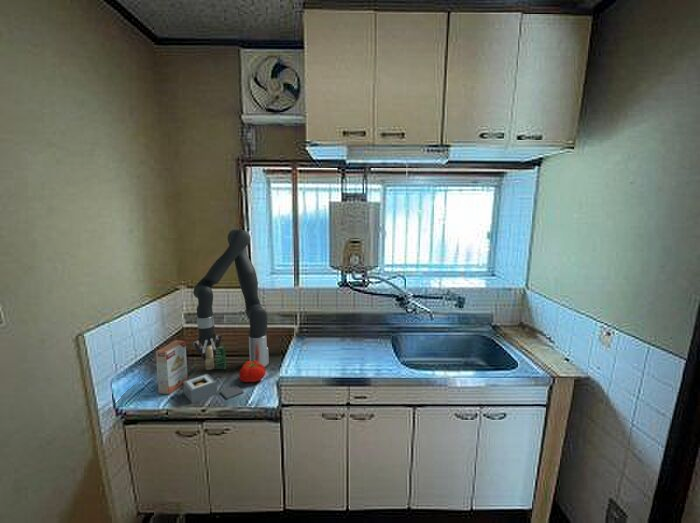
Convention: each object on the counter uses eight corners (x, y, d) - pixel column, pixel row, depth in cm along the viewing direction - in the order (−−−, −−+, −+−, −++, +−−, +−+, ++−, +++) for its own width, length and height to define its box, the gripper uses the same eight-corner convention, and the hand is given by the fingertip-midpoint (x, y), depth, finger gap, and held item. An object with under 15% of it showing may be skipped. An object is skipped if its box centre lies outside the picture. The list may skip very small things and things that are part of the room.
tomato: (258, 388, 159) (257, 371, 157) (234, 385, 161) (233, 368, 160) (270, 374, 172) (270, 358, 171) (248, 372, 175) (248, 356, 173)
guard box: (207, 384, 161) (207, 373, 161) (217, 394, 154) (216, 382, 153) (183, 393, 154) (183, 381, 153) (192, 403, 146) (191, 390, 145)
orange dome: (203, 386, 156) (202, 381, 156) (206, 389, 153) (205, 384, 153) (194, 389, 154) (193, 384, 153) (197, 392, 151) (196, 388, 150)
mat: (236, 386, 160) (236, 384, 160) (243, 392, 155) (243, 391, 155) (219, 392, 155) (219, 390, 155) (227, 399, 149) (227, 397, 149)
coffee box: (209, 369, 177) (208, 346, 175) (211, 366, 180) (210, 344, 178) (224, 369, 177) (223, 346, 175) (226, 367, 180) (225, 344, 177)
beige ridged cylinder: (212, 365, 168) (210, 342, 166) (215, 367, 165) (213, 345, 163) (204, 367, 166) (202, 345, 164) (207, 370, 163) (205, 347, 161)
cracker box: (170, 395, 152) (166, 352, 149) (158, 394, 153) (154, 351, 150) (188, 379, 166) (186, 340, 163) (177, 378, 167) (174, 339, 164)
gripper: (217, 319, 169) (220, 351, 172) (188, 327, 159) (191, 360, 162) (223, 323, 164) (226, 355, 167) (193, 331, 154) (197, 365, 157)
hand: (209, 357), depth 165 cm, fingers closed on beige ridged cylinder, 4 cm apart
